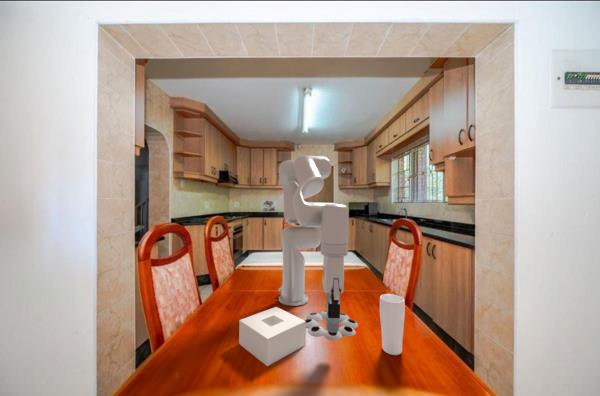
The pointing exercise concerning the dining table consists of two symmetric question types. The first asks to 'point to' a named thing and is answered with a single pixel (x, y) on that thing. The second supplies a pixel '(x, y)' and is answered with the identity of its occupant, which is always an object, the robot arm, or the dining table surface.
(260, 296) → the dining table surface
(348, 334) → the round palette
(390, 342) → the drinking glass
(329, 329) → the pin
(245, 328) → the socket block
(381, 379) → the dining table surface
